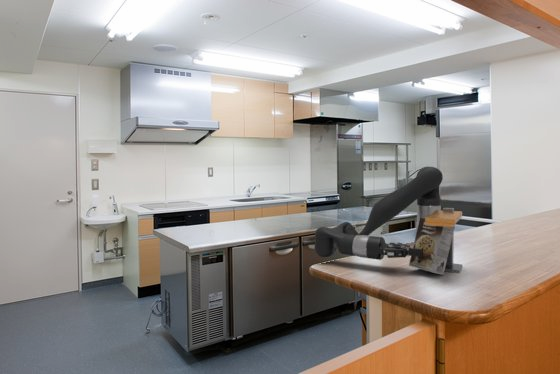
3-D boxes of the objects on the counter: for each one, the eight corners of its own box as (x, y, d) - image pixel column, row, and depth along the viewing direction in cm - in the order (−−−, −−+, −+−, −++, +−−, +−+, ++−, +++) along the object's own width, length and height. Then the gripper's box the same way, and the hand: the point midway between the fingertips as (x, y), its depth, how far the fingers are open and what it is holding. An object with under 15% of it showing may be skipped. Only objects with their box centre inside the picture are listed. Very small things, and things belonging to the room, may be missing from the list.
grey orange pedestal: (424, 281, 112) (424, 214, 111) (436, 263, 131) (437, 206, 130) (453, 285, 108) (454, 216, 107) (462, 266, 127) (463, 207, 125)
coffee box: (407, 265, 122) (418, 217, 124) (420, 268, 125) (430, 221, 127) (431, 272, 114) (443, 220, 116) (444, 275, 118) (455, 225, 119)
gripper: (375, 253, 133) (426, 260, 124) (361, 262, 122) (417, 270, 112) (375, 232, 132) (427, 237, 123) (361, 239, 121) (418, 245, 112)
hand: (422, 253), depth 118 cm, fingers closed
